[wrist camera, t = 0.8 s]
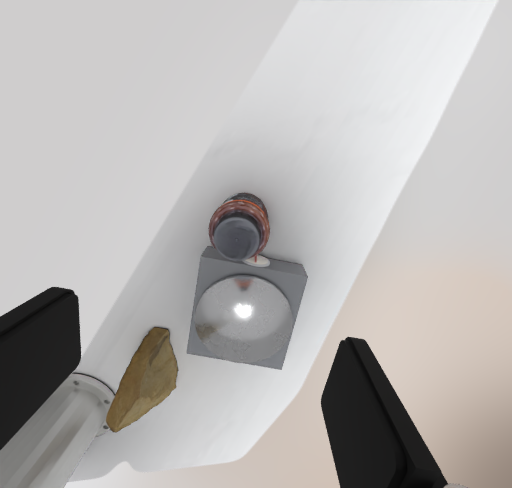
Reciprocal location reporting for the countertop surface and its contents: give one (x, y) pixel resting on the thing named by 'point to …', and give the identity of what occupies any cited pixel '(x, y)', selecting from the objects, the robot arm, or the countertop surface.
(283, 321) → the scale pan
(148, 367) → the rock
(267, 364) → the scale base
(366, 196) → the countertop surface
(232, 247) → the supplement bottle
